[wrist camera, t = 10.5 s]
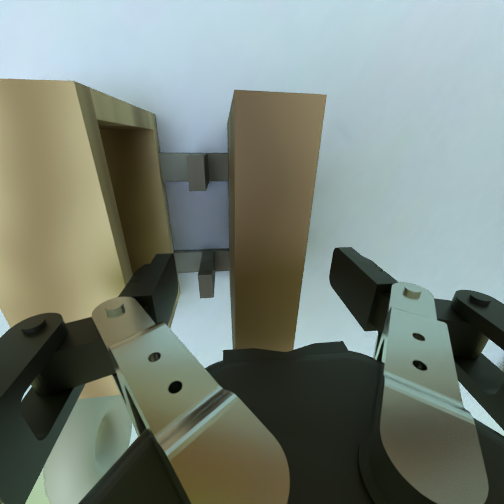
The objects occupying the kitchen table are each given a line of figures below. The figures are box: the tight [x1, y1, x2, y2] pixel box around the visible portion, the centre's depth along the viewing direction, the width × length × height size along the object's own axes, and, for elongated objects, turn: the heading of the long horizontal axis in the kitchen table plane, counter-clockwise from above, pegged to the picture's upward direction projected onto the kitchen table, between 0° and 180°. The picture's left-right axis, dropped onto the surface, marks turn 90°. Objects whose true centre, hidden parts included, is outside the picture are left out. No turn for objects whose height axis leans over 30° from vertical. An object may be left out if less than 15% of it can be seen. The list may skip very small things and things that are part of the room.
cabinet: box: [0, 79, 230, 399], centre depth 15 cm, size 15×15×10 cm
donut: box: [43, 395, 132, 504], centre depth 23 cm, size 10×4×10 cm, turn 6°
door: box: [227, 90, 326, 352], centre depth 15 cm, size 4×13×12 cm, turn 179°
